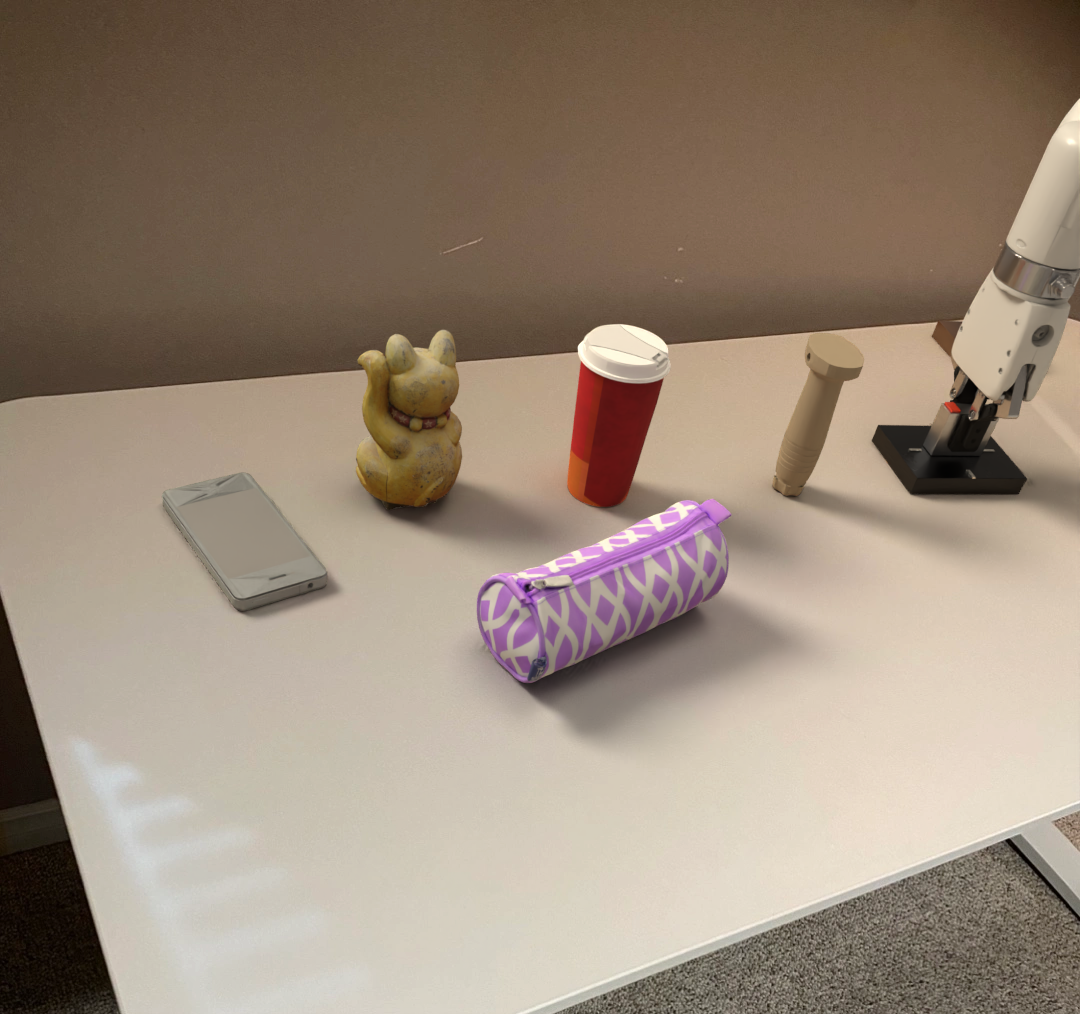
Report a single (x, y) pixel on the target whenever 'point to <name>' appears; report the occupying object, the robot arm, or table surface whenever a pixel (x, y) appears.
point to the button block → (946, 334)
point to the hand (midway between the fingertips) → (956, 441)
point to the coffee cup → (613, 410)
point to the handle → (815, 408)
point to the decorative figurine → (410, 422)
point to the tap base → (945, 465)
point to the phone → (244, 540)
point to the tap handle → (951, 430)
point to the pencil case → (604, 591)
